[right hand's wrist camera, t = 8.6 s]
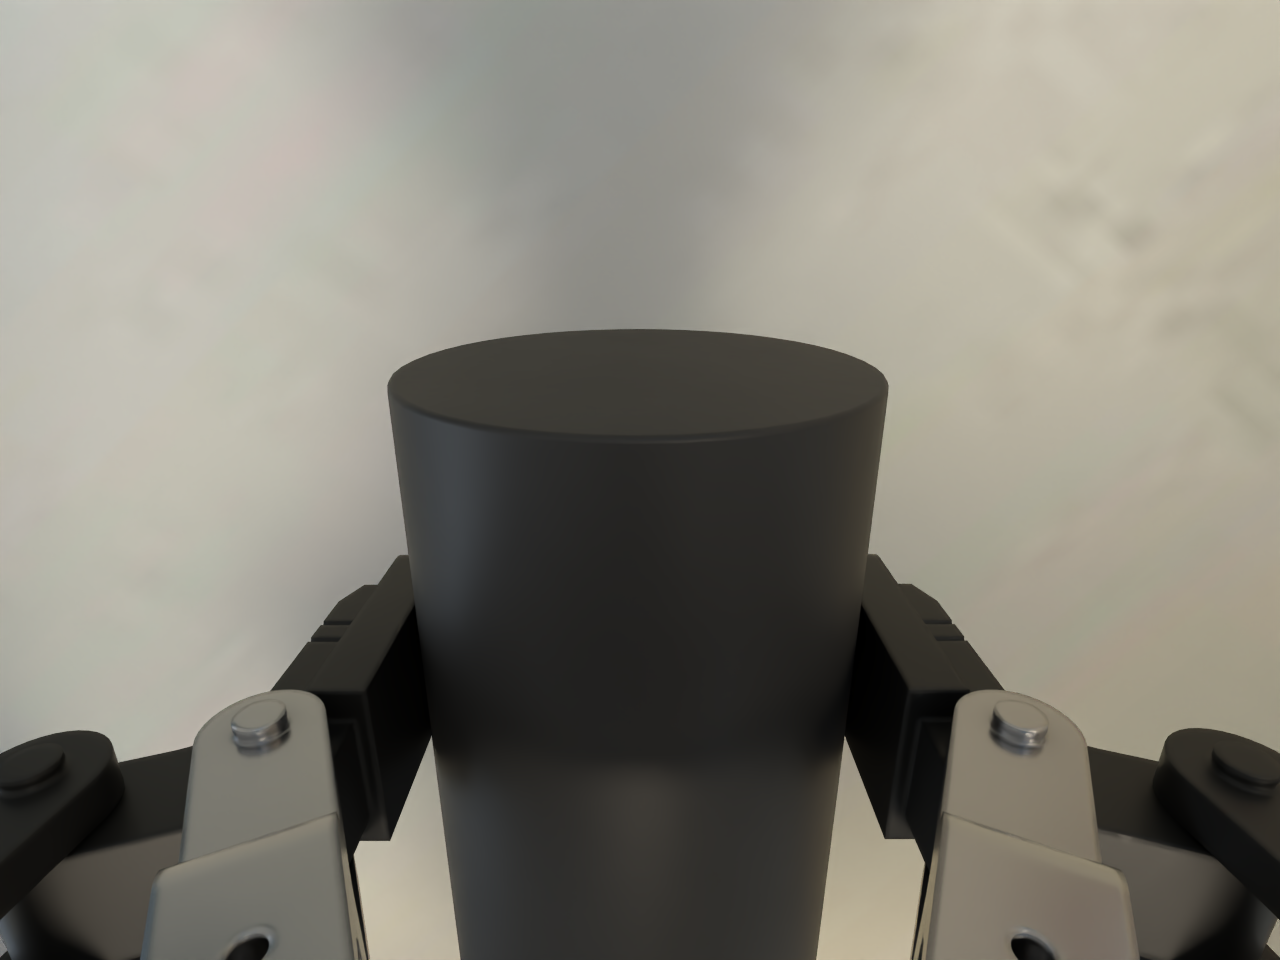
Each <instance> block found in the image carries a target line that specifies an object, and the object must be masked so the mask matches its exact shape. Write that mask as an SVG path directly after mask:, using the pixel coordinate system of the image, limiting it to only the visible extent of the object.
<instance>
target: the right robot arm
mask: <svg viewBox="0 0 1280 960" xmlns="http://www.w3.org/2000/svg"><path fill="white" fill-rule="evenodd" d="M431 736H432V733H431V725H430V717H429V710H428V702H427V694H426V686H425V679H424V671H423V663H422V655H421V648H420V640H419V632H418V624H417V617H416V609H415V601H414V593H413V585H412V578H411V570H410V562H409V555H399V556H398V557H397V558H396V559H395V561H394V562H393V564H392V565H391V567H390V568H389V569H388V571H387V572H386V574H385V575H384V577H383V578H382V580H381V581H380V582H379V584H378V585H364V586H362V587H361V588H359V589H358V590H356V591H354V592H353V593H351V594H350V595H348V596H347V597H345V598H344V599H342V600H341V601H339V602H338V603H337V605H336V606H335V607H334V609H333V610H332V611H331V612H330V614H329V615H328V616H327V618H326V619H325V620H324V625H321V626H320V627H319V628H318V629H317V631H316V632H315V633H314V635H313V636H312V637H311V642H308V643H307V644H306V645H305V646H304V648H303V649H302V650H301V652H300V653H299V654H298V656H297V657H296V658H295V659H294V661H293V662H292V663H291V665H290V666H289V667H288V669H287V670H286V671H285V673H284V674H283V675H282V676H281V678H280V679H279V680H278V682H277V683H276V684H275V686H274V687H273V688H272V690H271V691H270V692H265V693H261V694H257V695H254V696H251V697H248V698H246V699H243V700H240V701H238V702H236V703H234V704H232V705H230V706H228V707H227V708H225V709H223V710H222V711H220V712H219V713H217V714H216V715H215V716H213V717H212V718H211V719H210V720H209V721H208V722H207V723H206V724H205V725H204V726H203V727H202V728H201V729H200V731H199V732H198V734H197V736H196V738H195V740H194V744H193V746H191V747H187V748H184V749H180V750H176V751H171V752H166V753H162V754H157V755H152V756H147V757H143V758H138V759H133V760H129V761H124V762H119V763H118V761H117V758H116V755H115V752H114V749H113V746H112V743H111V741H110V740H109V738H107V737H106V736H105V735H103V734H100V733H98V732H93V731H80V730H78V731H67V732H61V733H55V734H51V735H47V736H44V737H40V738H37V739H34V740H31V741H28V742H26V743H23V744H21V745H18V746H16V747H14V748H12V749H10V750H7V751H5V752H3V753H1V754H0V935H1V937H2V940H3V942H4V944H5V946H6V948H7V951H6V952H5V953H4V954H3V955H2V956H1V957H0V960H370V956H369V949H368V942H367V935H366V928H365V922H364V915H363V908H362V901H361V894H360V887H359V881H358V875H357V870H356V864H355V859H354V853H355V850H356V848H357V846H358V843H359V841H390V840H391V837H392V834H393V832H394V829H395V827H396V824H397V822H398V819H399V817H400V814H401V812H402V809H403V807H404V804H405V801H406V799H407V796H408V794H409V791H410V789H411V786H412V784H413V781H414V779H415V776H416V774H417V771H418V769H419V766H420V763H421V761H422V758H423V756H424V753H425V751H426V748H427V746H428V743H429V741H430V738H431ZM845 737H846V740H847V742H848V745H849V748H850V750H851V753H852V755H853V758H854V761H855V763H856V766H857V768H858V771H859V773H860V776H861V779H862V781H863V784H864V786H865V789H866V792H867V794H868V797H869V799H870V802H871V804H872V807H873V810H874V812H875V815H876V817H877V820H878V823H879V825H880V828H881V830H882V833H883V835H884V838H885V839H915V840H916V843H917V845H918V847H919V850H920V852H921V854H922V857H923V859H924V861H925V864H924V870H923V875H922V881H921V887H920V894H919V901H918V908H917V915H916V922H915V928H914V935H913V942H912V949H911V956H910V960H1280V957H1279V956H1278V955H1277V954H1276V953H1275V952H1274V951H1273V950H1272V949H1271V948H1270V947H1269V946H1268V945H1267V944H1266V943H1267V941H1268V939H1269V937H1270V934H1271V932H1272V930H1273V928H1274V926H1275V923H1276V921H1277V919H1279V920H1280V753H1278V752H1276V751H1274V750H1272V749H1270V748H1268V747H1266V746H1264V745H1262V744H1259V743H1257V742H1254V741H1252V740H1250V739H1247V738H1244V737H1241V736H1238V735H1235V734H1231V733H1227V732H1223V731H1218V730H1212V729H1202V728H1188V729H1183V730H1179V731H1176V732H1174V733H1172V734H1171V735H1170V736H1168V738H1167V739H1166V741H1165V744H1164V747H1163V750H1162V753H1161V756H1160V759H1159V762H1158V761H1153V760H1148V759H1144V758H1139V757H1134V756H1130V755H1125V754H1120V753H1116V752H1111V751H1106V750H1101V749H1097V748H1093V747H1089V746H1087V744H1086V740H1085V738H1084V736H1083V734H1082V732H1081V731H1080V729H1079V728H1078V727H1077V726H1076V725H1075V724H1074V723H1073V722H1072V721H1071V720H1070V719H1069V718H1068V717H1067V716H1065V715H1064V714H1063V713H1061V712H1060V711H1058V710H1057V709H1055V708H1053V707H1052V706H1050V705H1048V704H1046V703H1044V702H1042V701H1040V700H1037V699H1034V698H1032V697H1029V696H1026V695H1023V694H1019V693H1015V692H1010V691H1005V690H1004V689H1003V688H1002V686H1001V685H1000V684H999V682H998V681H997V680H996V678H995V677H994V676H993V674H992V673H991V672H990V670H989V669H988V668H987V666H986V665H985V664H984V662H983V661H982V660H981V658H980V657H979V656H978V654H977V653H976V652H975V651H974V649H973V648H972V647H971V645H970V644H969V643H968V641H964V636H963V635H962V633H961V632H960V631H959V629H958V628H957V627H956V625H955V624H952V620H951V619H950V617H949V616H948V615H947V613H946V612H945V611H944V610H943V608H942V607H941V606H940V604H939V603H938V602H937V601H936V600H935V599H933V598H932V597H930V596H929V595H927V594H926V593H924V592H923V591H921V590H920V589H918V588H917V587H915V586H914V585H912V584H897V582H896V581H895V579H894V578H893V576H892V575H891V573H890V572H889V570H888V569H887V567H886V566H885V565H884V563H883V562H882V560H881V559H880V557H879V556H878V555H876V554H868V555H867V563H866V571H865V579H864V586H863V594H862V602H861V610H860V618H859V626H858V634H857V641H856V649H855V657H854V665H853V673H852V681H851V689H850V696H849V704H848V712H847V720H846V728H845Z"/></svg>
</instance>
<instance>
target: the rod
mask: <svg viewBox="0 0 1280 960" xmlns="http://www.w3.org/2000/svg"><path fill="white" fill-rule="evenodd" d="M387 386H388V399H389V407H390V415H391V423H392V430H393V438H394V446H395V454H396V461H397V469H398V477H399V485H400V492H401V500H402V508H403V516H404V523H405V531H406V539H407V547H408V554H409V562H410V570H411V578H412V585H413V593H414V601H415V609H416V617H417V624H418V632H419V640H420V648H421V655H422V663H423V671H424V679H425V686H426V694H427V702H428V710H429V717H430V725H431V733H432V741H433V748H434V756H435V764H436V772H437V779H438V787H439V795H440V803H441V810H442V818H443V826H444V834H445V841H446V849H447V857H448V865H449V872H450V880H451V888H452V896H453V903H454V911H455V919H456V927H457V934H458V942H459V950H460V958H461V960H816V956H817V948H818V940H819V932H820V924H821V916H822V909H823V901H824V893H825V885H826V877H827V869H828V861H829V854H830V846H831V838H832V830H833V822H834V814H835V806H836V799H837V791H838V783H839V775H840V767H841V759H842V751H843V744H844V736H845V728H846V720H847V712H848V704H849V696H850V689H851V681H852V673H853V665H854V657H855V649H856V641H857V634H858V626H859V618H860V610H861V602H862V594H863V586H864V579H865V571H866V563H867V555H868V547H869V539H870V531H871V524H872V516H873V508H874V500H875V492H876V484H877V476H878V469H879V461H880V453H881V445H882V437H883V429H884V421H885V414H886V406H887V398H888V382H887V380H886V378H885V377H884V375H883V374H882V373H881V372H880V371H879V370H878V369H876V368H875V367H873V366H872V365H870V364H868V363H866V362H864V361H862V360H860V359H857V358H855V357H852V356H850V355H847V354H844V353H841V352H838V351H834V350H831V349H827V348H823V347H819V346H815V345H810V344H805V343H800V342H795V341H789V340H783V339H777V338H769V337H762V336H754V335H744V334H734V333H722V332H709V331H690V330H662V329H615V330H586V331H568V332H554V333H542V334H532V335H523V336H515V337H507V338H500V339H494V340H487V341H481V342H476V343H471V344H466V345H461V346H457V347H453V348H449V349H445V350H442V351H439V352H435V353H432V354H429V355H427V356H424V357H421V358H419V359H416V360H414V361H412V362H410V363H408V364H406V365H404V366H403V367H401V368H400V369H398V370H397V371H396V372H395V373H394V374H393V375H392V377H391V378H390V380H389V382H388V385H387Z"/></svg>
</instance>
